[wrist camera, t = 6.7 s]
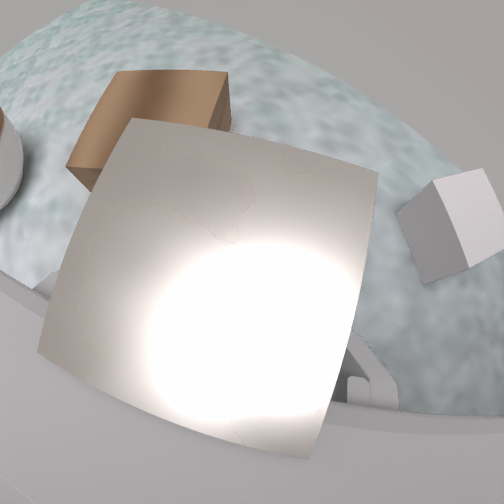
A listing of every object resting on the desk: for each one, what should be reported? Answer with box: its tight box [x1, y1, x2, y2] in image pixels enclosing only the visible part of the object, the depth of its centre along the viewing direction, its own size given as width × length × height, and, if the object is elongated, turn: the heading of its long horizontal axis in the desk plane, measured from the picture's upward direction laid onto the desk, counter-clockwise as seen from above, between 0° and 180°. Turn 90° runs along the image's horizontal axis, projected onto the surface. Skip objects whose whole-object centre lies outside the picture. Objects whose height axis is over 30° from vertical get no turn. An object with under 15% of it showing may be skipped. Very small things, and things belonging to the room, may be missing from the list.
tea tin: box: [37, 118, 378, 459], centre depth 10 cm, size 5×5×12 cm
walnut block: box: [66, 70, 231, 192], centre depth 20 cm, size 9×9×6 cm
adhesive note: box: [396, 168, 504, 285], centre depth 18 cm, size 6×6×6 cm
